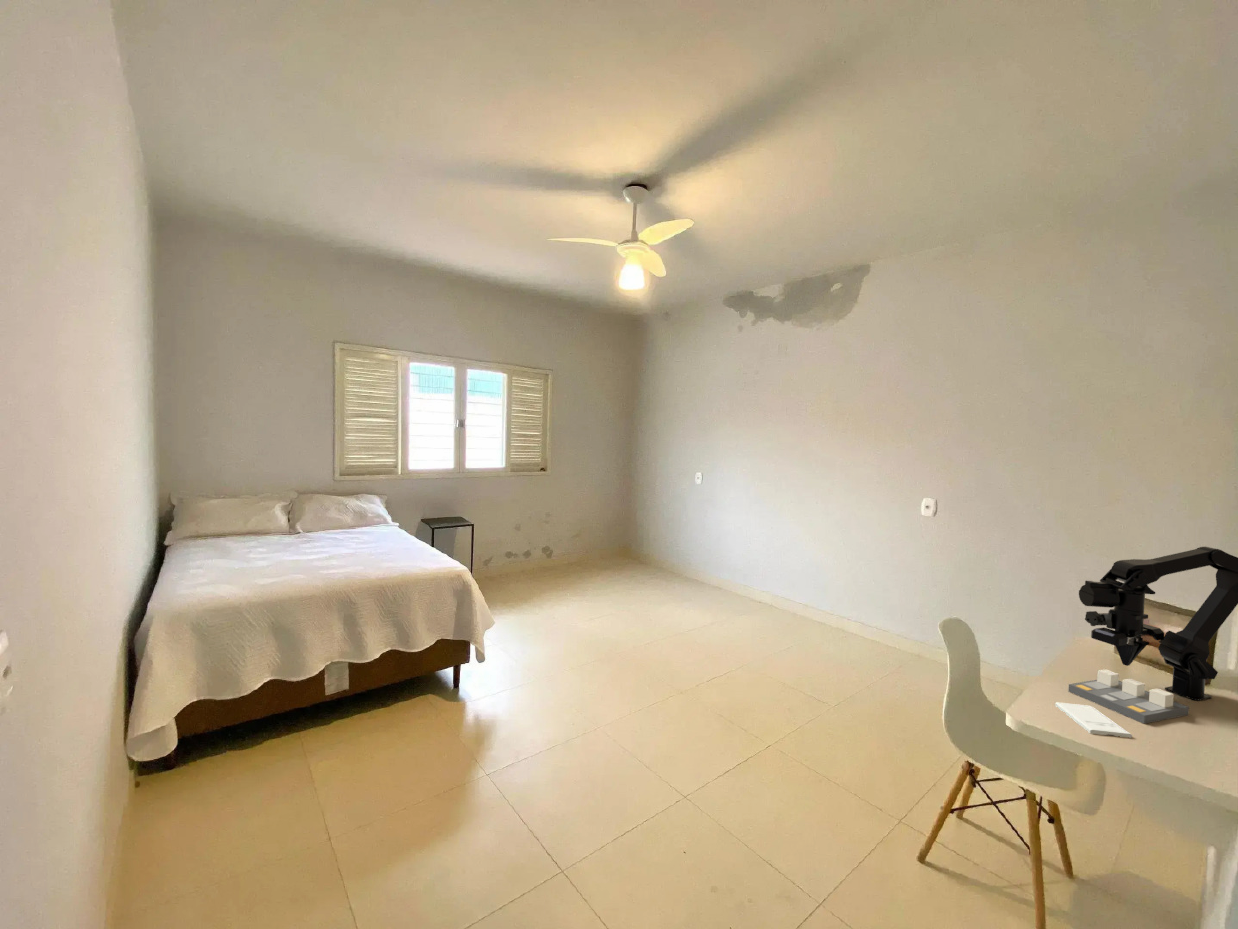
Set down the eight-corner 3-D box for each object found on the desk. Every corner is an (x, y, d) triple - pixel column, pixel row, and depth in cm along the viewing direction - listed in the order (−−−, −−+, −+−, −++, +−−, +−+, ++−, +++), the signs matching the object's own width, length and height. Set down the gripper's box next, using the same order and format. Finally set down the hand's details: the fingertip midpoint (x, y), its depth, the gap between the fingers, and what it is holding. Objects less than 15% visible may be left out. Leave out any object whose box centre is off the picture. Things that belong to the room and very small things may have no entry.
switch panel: (1110, 684, 140) (1110, 677, 140) (1188, 714, 125) (1189, 706, 124) (1068, 691, 136) (1068, 683, 136) (1144, 723, 120) (1144, 715, 120)
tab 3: (1157, 700, 127) (1157, 688, 127) (1172, 706, 124) (1173, 694, 124) (1148, 701, 126) (1149, 689, 126) (1164, 707, 124) (1165, 695, 123)
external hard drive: (1092, 712, 127) (1132, 740, 114) (1054, 708, 128) (1089, 735, 116) (1092, 705, 126) (1132, 733, 114) (1055, 701, 128) (1090, 729, 116)
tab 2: (1129, 689, 133) (1130, 678, 132) (1144, 695, 130) (1145, 683, 130) (1121, 691, 132) (1122, 679, 132) (1136, 696, 129) (1137, 685, 129)
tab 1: (1104, 680, 138) (1105, 669, 138) (1118, 685, 135) (1119, 674, 135) (1097, 681, 137) (1097, 670, 137) (1110, 686, 134) (1111, 675, 134)
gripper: (1116, 597, 147) (1114, 649, 148) (1070, 602, 142) (1067, 656, 143) (1167, 609, 136) (1163, 666, 137) (1118, 615, 131) (1115, 674, 132)
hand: (1125, 665), depth 138 cm, fingers closed
